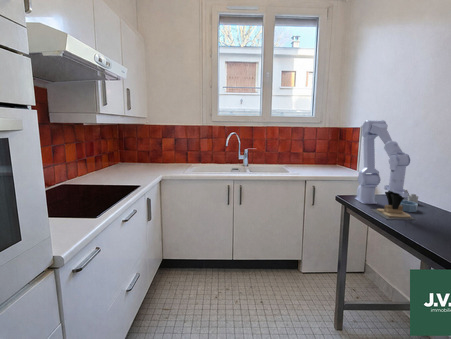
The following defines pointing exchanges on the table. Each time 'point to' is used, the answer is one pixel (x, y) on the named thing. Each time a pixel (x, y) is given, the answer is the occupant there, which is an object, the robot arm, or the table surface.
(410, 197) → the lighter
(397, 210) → the lid
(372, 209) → the mat
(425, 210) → the table surface
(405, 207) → the bowl
